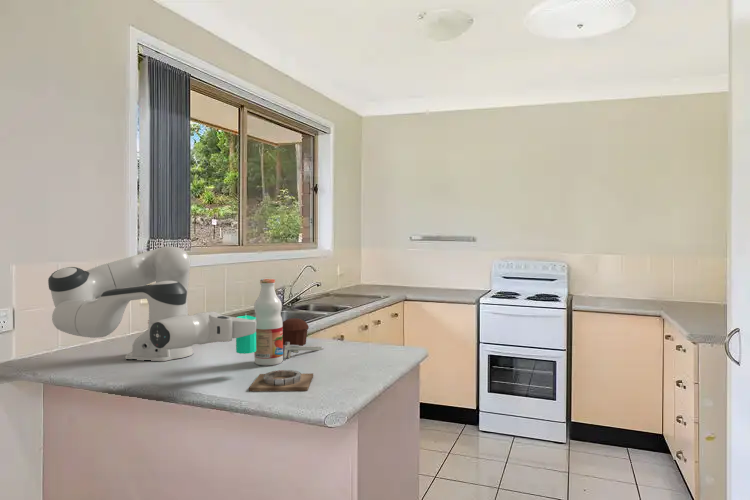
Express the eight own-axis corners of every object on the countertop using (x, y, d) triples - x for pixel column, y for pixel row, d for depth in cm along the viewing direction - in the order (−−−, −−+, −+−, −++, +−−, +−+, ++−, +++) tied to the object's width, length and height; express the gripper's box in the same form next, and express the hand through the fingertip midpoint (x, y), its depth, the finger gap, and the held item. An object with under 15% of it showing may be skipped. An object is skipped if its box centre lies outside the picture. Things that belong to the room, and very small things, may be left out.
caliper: (284, 360, 179) (284, 342, 179) (282, 360, 180) (282, 342, 179) (324, 349, 196) (323, 333, 195) (321, 349, 196) (321, 332, 196)
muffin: (306, 340, 212) (306, 316, 211) (311, 346, 201) (311, 320, 201) (276, 342, 208) (276, 317, 207) (280, 348, 197) (280, 322, 197)
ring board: (249, 391, 143) (249, 387, 143) (260, 377, 157) (260, 374, 157) (307, 390, 143) (307, 387, 143) (313, 376, 157) (313, 373, 157)
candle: (237, 349, 162) (237, 311, 162) (257, 349, 163) (257, 310, 163) (234, 353, 156) (234, 313, 156) (255, 353, 157) (254, 313, 157)
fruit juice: (254, 360, 179) (253, 278, 178) (282, 358, 181) (281, 277, 180) (254, 367, 170) (253, 281, 169) (283, 365, 172) (282, 280, 171)
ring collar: (260, 385, 145) (260, 379, 145) (268, 375, 156) (268, 370, 156) (298, 385, 145) (298, 379, 145) (303, 375, 156) (303, 369, 156)
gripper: (189, 333, 156) (228, 327, 167) (231, 342, 143) (270, 335, 154) (189, 312, 156) (228, 307, 167) (231, 319, 143) (270, 313, 154)
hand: (248, 320), depth 160 cm, fingers closed on candle, 5 cm apart
